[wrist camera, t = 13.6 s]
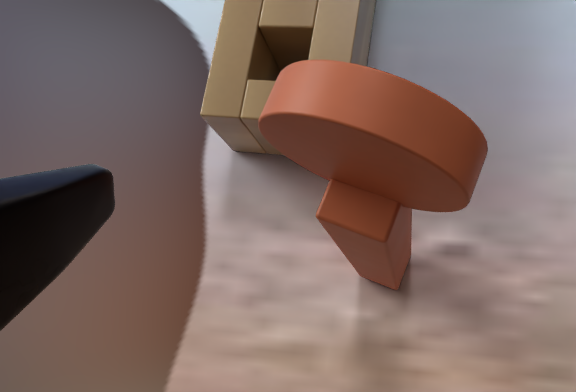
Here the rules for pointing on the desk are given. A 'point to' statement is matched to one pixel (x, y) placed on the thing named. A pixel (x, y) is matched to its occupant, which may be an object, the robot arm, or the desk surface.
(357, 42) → the utensil rack
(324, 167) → the orange piece
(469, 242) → the desk surface
